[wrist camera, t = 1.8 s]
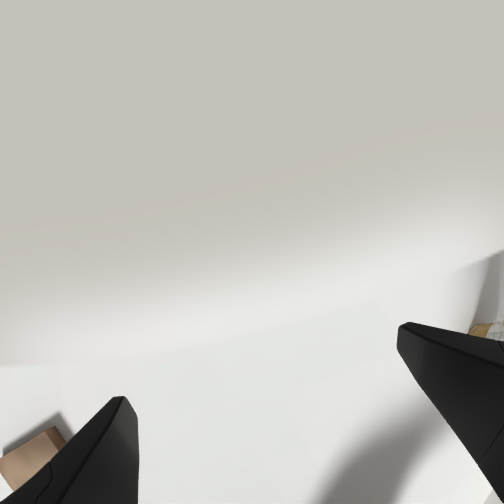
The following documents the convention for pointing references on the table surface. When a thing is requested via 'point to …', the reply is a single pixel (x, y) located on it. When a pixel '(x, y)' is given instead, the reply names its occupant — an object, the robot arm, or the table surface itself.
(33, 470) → the brown wooden square board
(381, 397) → the table surface
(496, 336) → the sprinkles bottle
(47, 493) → the robot arm
